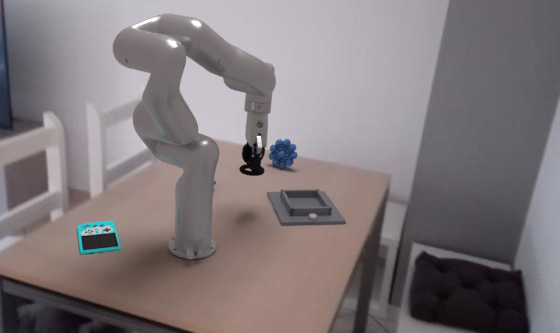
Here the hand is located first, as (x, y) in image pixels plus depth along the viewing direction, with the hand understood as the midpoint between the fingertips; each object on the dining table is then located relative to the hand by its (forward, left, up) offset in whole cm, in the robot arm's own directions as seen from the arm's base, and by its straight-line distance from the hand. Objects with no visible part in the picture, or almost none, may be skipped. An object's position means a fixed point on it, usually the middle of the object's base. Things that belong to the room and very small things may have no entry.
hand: (252, 164), depth 159 cm
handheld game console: (-12, +43, -17) cm, 48 cm away
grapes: (+38, -19, -16) cm, 45 cm away
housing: (+3, -18, -16) cm, 25 cm away
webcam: (0, 0, -3) cm, 3 cm away
